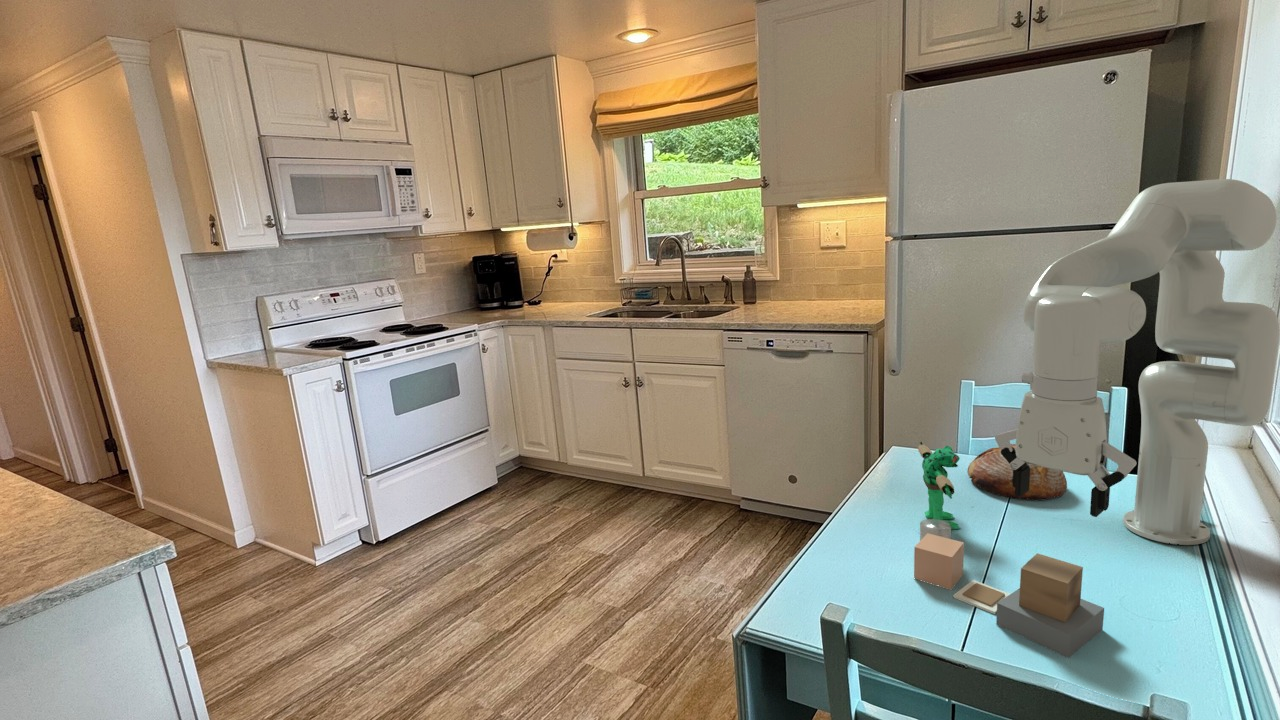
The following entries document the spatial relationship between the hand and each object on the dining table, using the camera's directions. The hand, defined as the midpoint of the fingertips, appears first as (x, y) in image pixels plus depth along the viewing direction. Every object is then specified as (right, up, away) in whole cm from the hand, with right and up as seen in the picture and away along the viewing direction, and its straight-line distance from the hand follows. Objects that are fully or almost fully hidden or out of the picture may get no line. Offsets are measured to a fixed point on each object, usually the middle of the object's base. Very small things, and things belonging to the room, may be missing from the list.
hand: (1058, 502), depth 94 cm
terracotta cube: (-8, -17, +19) cm, 27 cm away
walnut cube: (+1, -16, +3) cm, 16 cm away
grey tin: (-6, -15, +26) cm, 30 cm away
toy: (0, -12, +38) cm, 40 cm away
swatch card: (-4, -18, +12) cm, 22 cm away
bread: (+23, -8, +52) cm, 58 cm away
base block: (+1, -20, +4) cm, 20 cm away
